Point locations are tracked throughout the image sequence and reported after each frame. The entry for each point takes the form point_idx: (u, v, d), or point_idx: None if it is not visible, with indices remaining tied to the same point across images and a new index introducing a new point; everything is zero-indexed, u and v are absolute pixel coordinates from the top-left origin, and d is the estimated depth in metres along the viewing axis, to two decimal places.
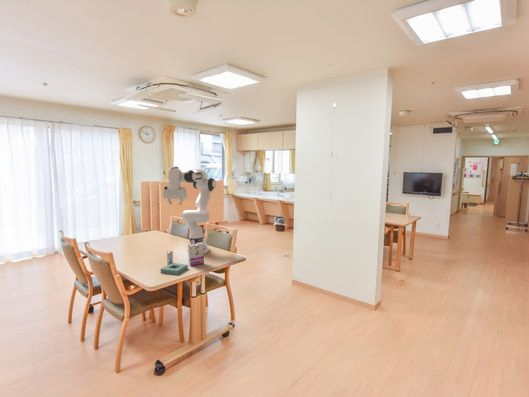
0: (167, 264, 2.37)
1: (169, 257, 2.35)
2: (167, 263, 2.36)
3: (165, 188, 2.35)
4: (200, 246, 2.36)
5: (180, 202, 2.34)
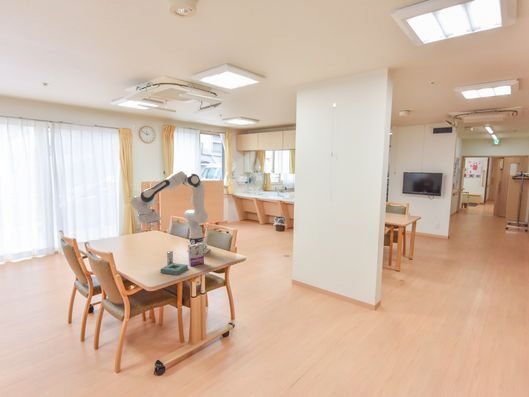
0: (167, 264, 2.37)
1: (169, 257, 2.35)
2: (167, 263, 2.36)
3: None
4: (200, 246, 2.36)
5: None
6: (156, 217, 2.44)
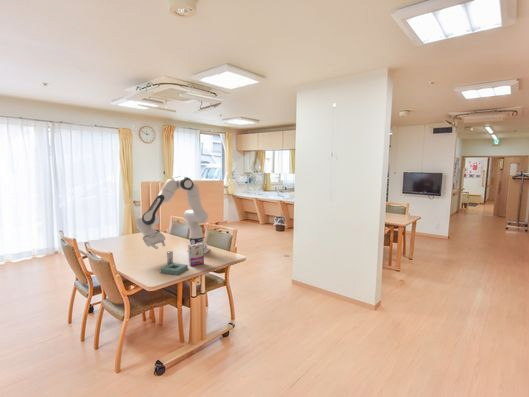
0: (167, 264, 2.37)
1: (169, 257, 2.35)
2: (167, 263, 2.36)
3: None
4: (200, 246, 2.36)
5: (154, 247, 2.34)
6: (161, 237, 2.44)
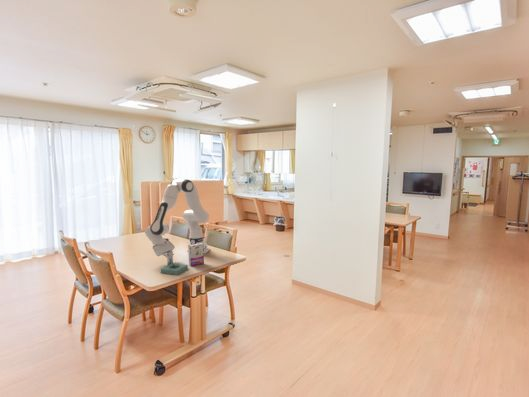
0: (167, 264, 2.37)
1: (169, 257, 2.35)
2: (167, 263, 2.36)
3: None
4: (200, 246, 2.36)
5: (165, 256, 2.34)
6: (170, 246, 2.43)
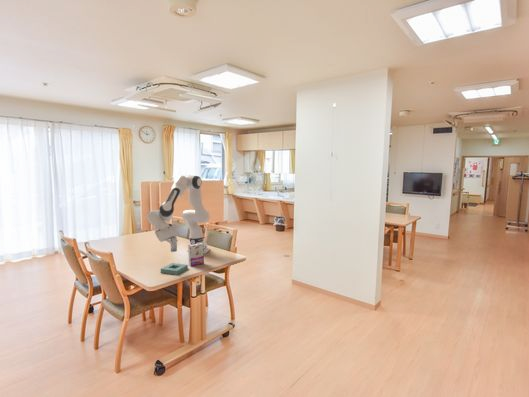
0: None
1: None
2: None
3: None
4: (200, 246, 2.36)
5: (169, 242, 2.18)
6: (174, 232, 2.26)
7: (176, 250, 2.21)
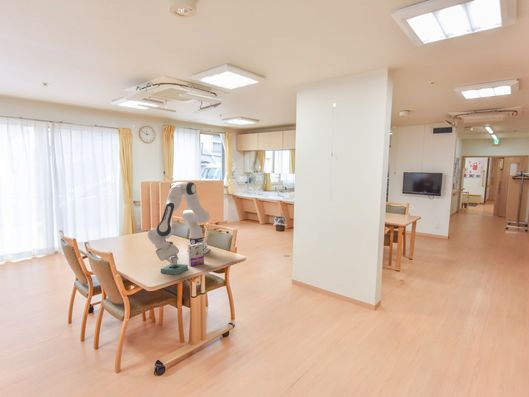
0: None
1: (173, 263, 2.20)
2: None
3: None
4: (200, 246, 2.36)
5: (169, 261, 2.18)
6: (174, 250, 2.27)
7: None
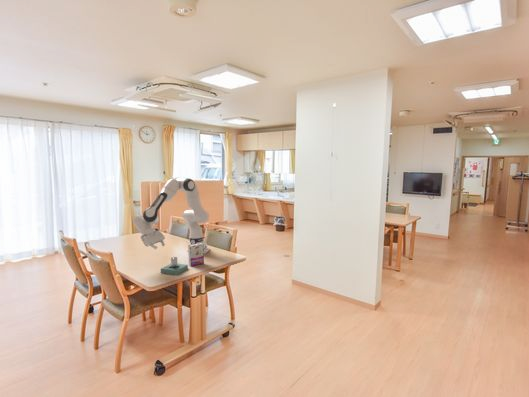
0: None
1: (173, 263, 2.20)
2: None
3: None
4: (200, 246, 2.36)
5: (153, 247, 2.20)
6: (160, 237, 2.30)
7: None
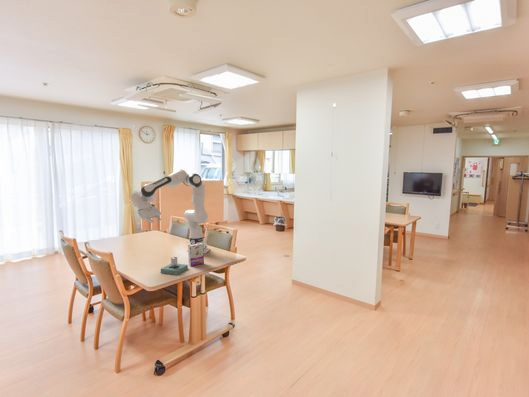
0: None
1: (173, 263, 2.20)
2: None
3: None
4: (200, 246, 2.36)
5: (149, 221, 2.31)
6: (156, 212, 2.41)
7: None
